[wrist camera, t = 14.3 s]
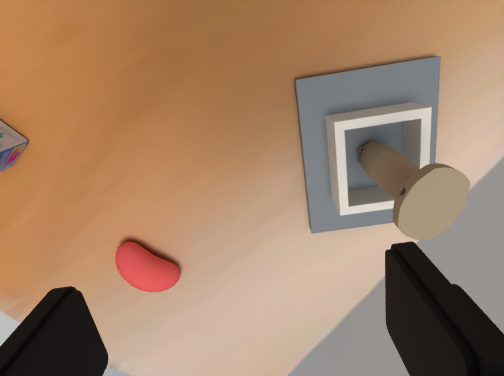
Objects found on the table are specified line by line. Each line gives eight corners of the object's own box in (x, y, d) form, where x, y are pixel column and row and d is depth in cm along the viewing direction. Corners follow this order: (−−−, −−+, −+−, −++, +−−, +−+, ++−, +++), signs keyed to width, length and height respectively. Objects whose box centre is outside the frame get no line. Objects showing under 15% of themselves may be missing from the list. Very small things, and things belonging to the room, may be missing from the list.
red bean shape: (156, 282, 51) (167, 307, 46) (103, 262, 45) (109, 287, 40) (175, 255, 51) (188, 276, 46) (124, 231, 46) (133, 253, 41)
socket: (294, 79, 38) (301, 82, 33) (433, 56, 37) (465, 55, 32) (310, 228, 45) (317, 251, 40) (426, 212, 44) (451, 234, 39)
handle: (339, 169, 41) (386, 228, 27) (364, 121, 38) (429, 158, 24) (373, 182, 41) (435, 246, 27) (399, 135, 39) (482, 180, 25)
